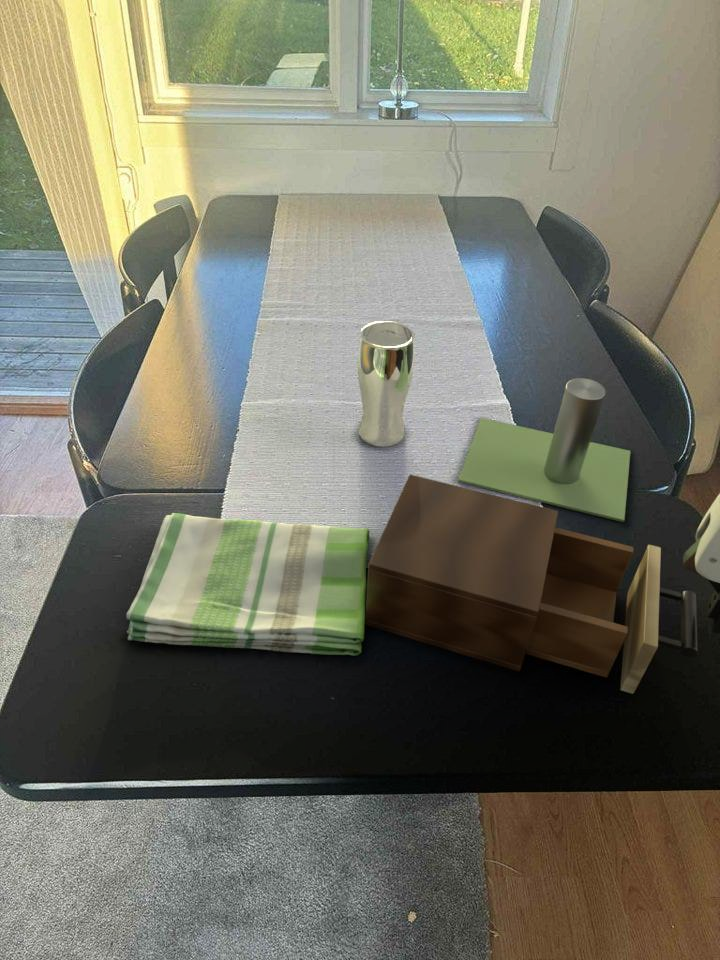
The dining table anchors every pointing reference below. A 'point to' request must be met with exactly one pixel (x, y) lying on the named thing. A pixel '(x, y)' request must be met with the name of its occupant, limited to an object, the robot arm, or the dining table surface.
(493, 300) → the dining table surface
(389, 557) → the cabinet
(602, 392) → the silver metal cylinder
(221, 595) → the dish towel
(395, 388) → the beer glass
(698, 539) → the robot arm
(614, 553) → the drawer
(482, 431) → the placemat
